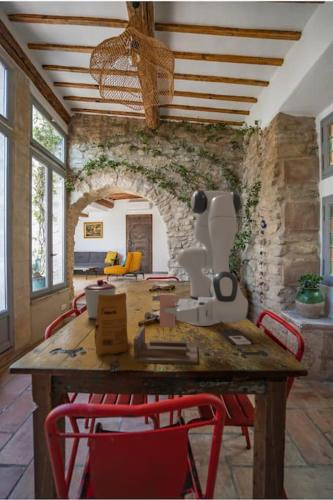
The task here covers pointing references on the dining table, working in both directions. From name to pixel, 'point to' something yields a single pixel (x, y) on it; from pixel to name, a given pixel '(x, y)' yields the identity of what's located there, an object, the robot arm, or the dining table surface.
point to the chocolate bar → (236, 337)
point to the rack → (163, 350)
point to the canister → (96, 296)
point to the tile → (165, 318)
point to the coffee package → (111, 324)
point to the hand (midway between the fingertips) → (165, 308)
